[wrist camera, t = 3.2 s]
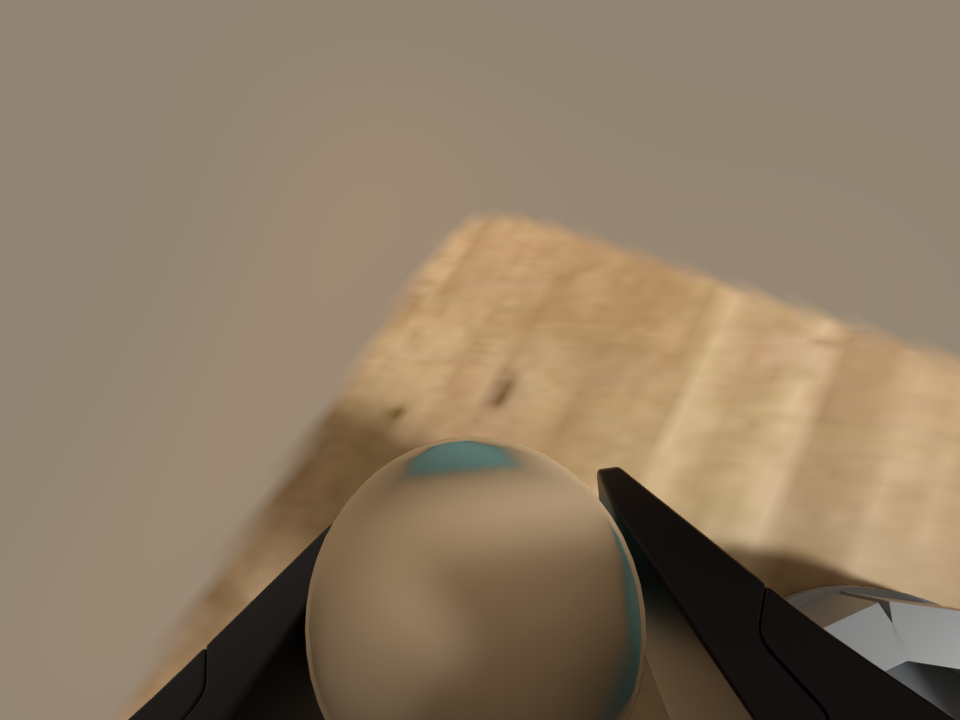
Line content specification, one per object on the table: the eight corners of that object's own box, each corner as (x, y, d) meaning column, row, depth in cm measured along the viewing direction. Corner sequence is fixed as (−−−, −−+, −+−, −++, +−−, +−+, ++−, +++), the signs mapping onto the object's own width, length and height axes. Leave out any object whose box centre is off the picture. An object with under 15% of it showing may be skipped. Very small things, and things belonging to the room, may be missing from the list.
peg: (580, 642, 14) (644, 872, 5) (447, 619, 15) (266, 779, 5) (587, 500, 15) (647, 453, 6) (464, 485, 16) (346, 423, 7)
